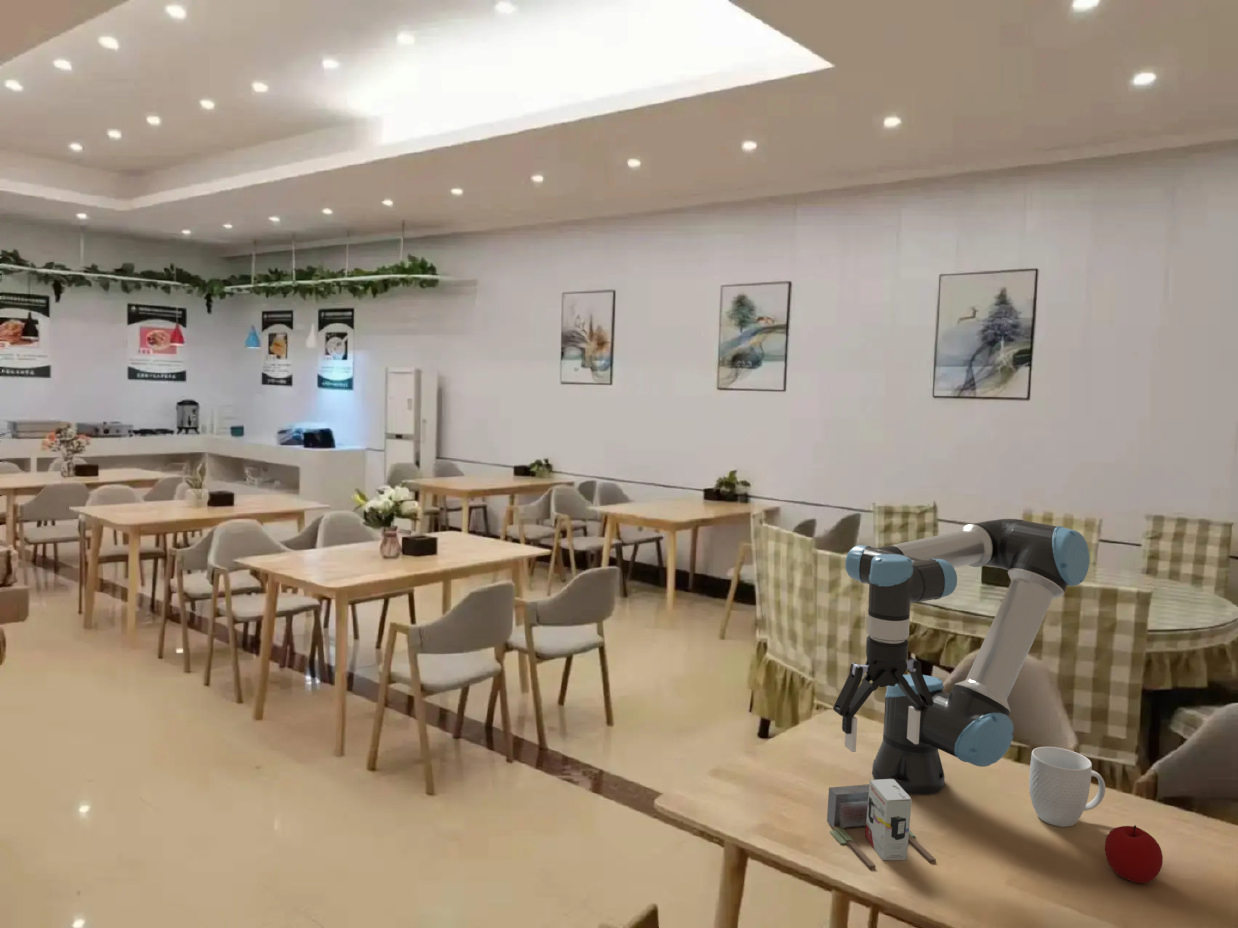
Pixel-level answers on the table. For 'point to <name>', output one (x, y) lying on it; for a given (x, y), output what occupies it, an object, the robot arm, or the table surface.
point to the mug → (1061, 785)
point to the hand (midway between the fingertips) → (881, 745)
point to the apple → (1133, 854)
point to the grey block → (848, 806)
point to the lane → (846, 839)
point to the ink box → (888, 819)
